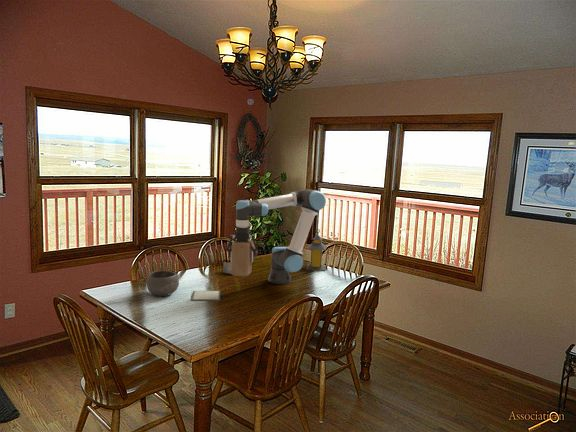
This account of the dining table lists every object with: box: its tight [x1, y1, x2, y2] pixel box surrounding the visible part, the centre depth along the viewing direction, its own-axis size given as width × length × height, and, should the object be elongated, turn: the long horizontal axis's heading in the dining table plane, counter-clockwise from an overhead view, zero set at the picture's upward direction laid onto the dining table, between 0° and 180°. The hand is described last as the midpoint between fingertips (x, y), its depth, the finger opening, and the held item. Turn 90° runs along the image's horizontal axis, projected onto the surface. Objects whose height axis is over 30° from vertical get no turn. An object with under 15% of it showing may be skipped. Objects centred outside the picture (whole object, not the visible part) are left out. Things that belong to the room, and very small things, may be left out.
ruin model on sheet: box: [222, 261, 232, 275], centre depth 295 cm, size 11×3×10 cm, turn 67°
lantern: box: [305, 228, 327, 272], centre depth 317 cm, size 14×14×30 cm
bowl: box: [146, 269, 180, 297], centre depth 244 cm, size 18×18×13 cm
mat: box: [190, 290, 221, 302], centre depth 246 cm, size 16×16×1 cm
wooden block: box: [231, 241, 253, 277], centre depth 252 cm, size 10×10×20 cm
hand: (241, 262), depth 252 cm, fingers closed on wooden block, 12 cm apart
